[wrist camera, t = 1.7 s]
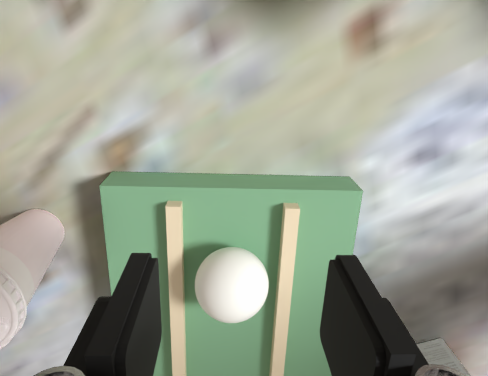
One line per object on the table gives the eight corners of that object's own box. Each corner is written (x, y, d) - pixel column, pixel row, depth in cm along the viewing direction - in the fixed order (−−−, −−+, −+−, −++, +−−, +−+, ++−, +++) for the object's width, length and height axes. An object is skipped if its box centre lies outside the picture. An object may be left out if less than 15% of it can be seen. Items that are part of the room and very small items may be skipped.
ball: (266, 234, 27) (275, 274, 22) (263, 292, 29) (270, 340, 24) (197, 233, 27) (190, 273, 22) (197, 291, 28) (191, 340, 24)
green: (349, 176, 29) (379, 208, 23) (308, 456, 40) (321, 523, 35) (112, 171, 28) (83, 203, 22) (139, 459, 39) (124, 529, 34)
